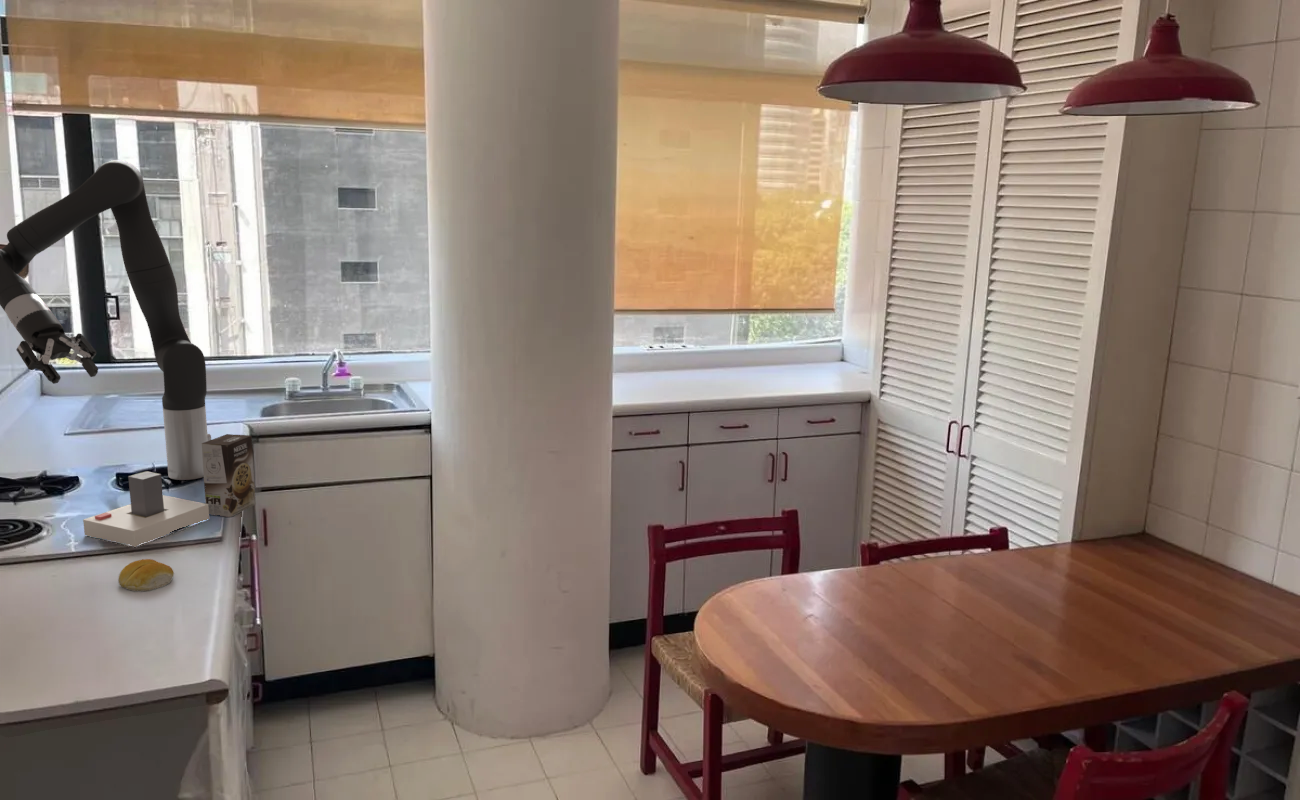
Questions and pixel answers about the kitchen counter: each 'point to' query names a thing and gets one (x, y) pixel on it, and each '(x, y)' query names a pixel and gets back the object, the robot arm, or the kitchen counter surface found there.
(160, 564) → the bread roll
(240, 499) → the coffee box
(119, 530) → the socket plate
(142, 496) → the plug
